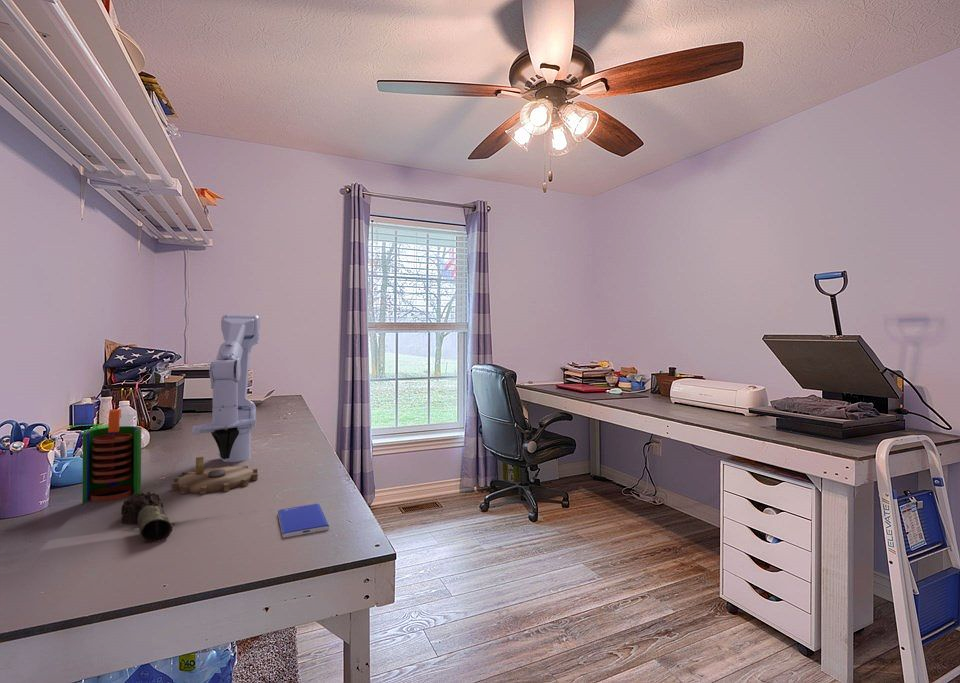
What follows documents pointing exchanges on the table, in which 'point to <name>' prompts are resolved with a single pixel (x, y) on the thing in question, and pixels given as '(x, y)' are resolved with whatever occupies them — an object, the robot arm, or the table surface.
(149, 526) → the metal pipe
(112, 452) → the motor
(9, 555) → the table surface
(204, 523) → the table surface
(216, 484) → the sprocket
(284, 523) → the hard drive
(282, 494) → the table surface
